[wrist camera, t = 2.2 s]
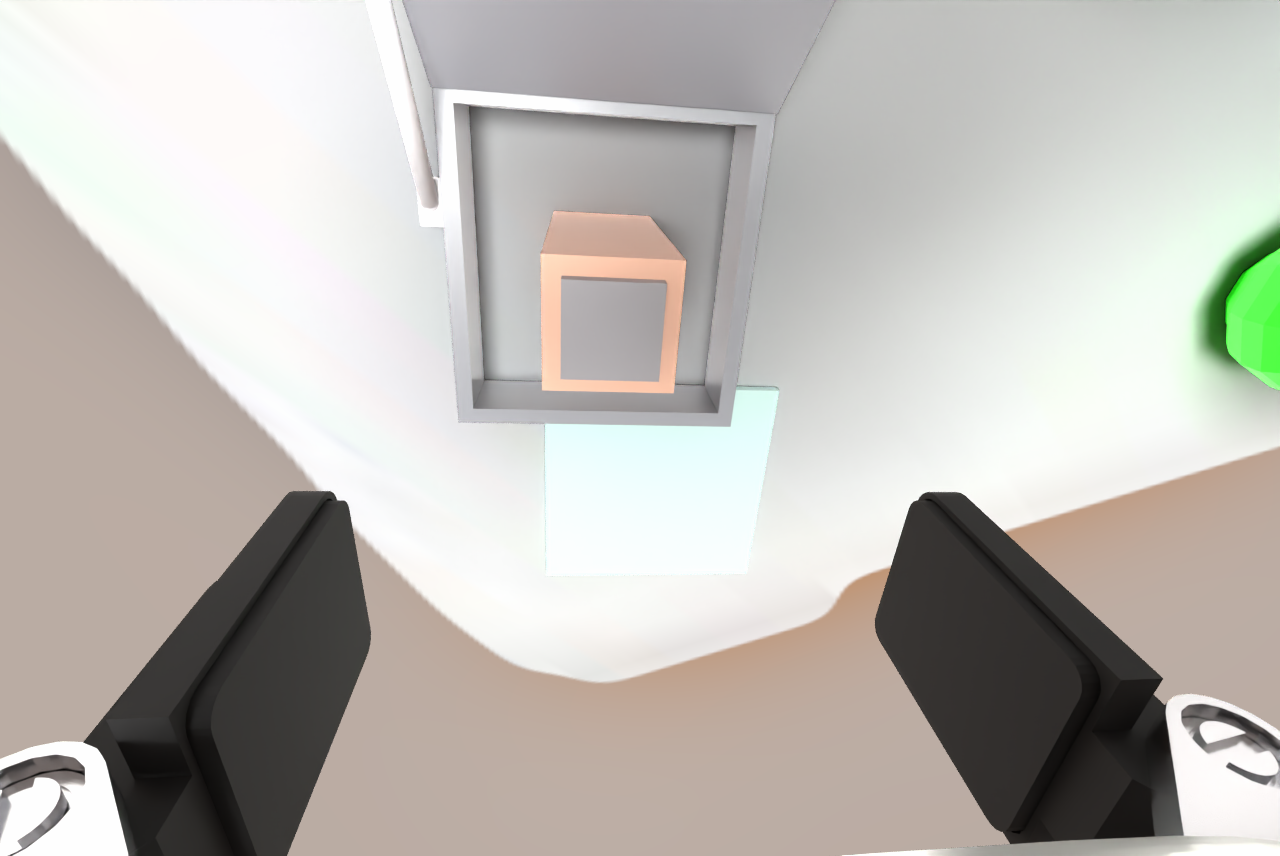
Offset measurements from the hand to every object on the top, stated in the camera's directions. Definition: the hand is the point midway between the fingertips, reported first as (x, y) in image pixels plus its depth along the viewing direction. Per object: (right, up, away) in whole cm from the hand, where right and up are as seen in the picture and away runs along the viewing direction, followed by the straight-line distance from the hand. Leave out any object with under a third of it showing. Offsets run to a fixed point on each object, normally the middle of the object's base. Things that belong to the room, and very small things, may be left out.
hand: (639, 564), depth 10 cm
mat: (+1, -1, +29) cm, 29 cm away
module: (-2, +11, +22) cm, 25 cm away
